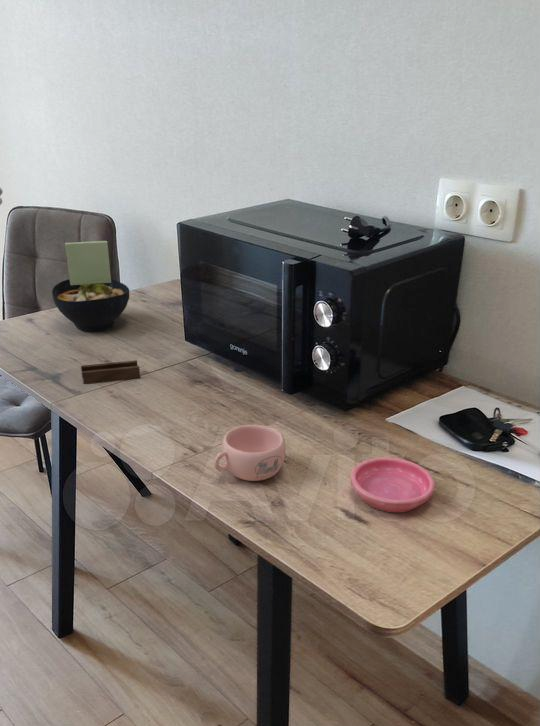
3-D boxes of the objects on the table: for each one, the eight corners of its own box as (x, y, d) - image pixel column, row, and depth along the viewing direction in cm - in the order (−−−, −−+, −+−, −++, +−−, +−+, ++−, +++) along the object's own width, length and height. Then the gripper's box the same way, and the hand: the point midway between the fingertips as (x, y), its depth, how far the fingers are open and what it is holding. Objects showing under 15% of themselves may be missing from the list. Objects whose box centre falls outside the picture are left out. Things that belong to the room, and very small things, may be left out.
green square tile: (70, 285, 157) (65, 244, 152) (70, 283, 158) (64, 242, 153) (111, 282, 159) (107, 242, 154) (110, 281, 160) (106, 240, 155)
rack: (83, 384, 137) (82, 372, 136) (82, 376, 140) (80, 365, 139) (140, 378, 140) (139, 367, 139) (137, 371, 143) (136, 360, 141)
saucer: (449, 505, 105) (452, 487, 103) (382, 528, 99) (385, 510, 98) (397, 466, 114) (399, 449, 112) (333, 485, 108) (334, 468, 107)
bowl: (74, 344, 154) (68, 300, 148) (45, 321, 165) (39, 279, 160) (144, 329, 162) (141, 287, 157) (112, 308, 174) (108, 268, 168)
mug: (263, 449, 117) (264, 417, 114) (297, 477, 110) (298, 444, 107) (199, 468, 112) (198, 435, 109) (230, 498, 105) (230, 464, 102)
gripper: (-58, 140, 123) (10, 197, 131) (-51, 126, 139) (10, 177, 147) (-79, 168, 124) (-10, 223, 132) (-70, 151, 141) (-9, 201, 148)
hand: (0, 199), depth 140 cm, fingers open, 8 cm apart
